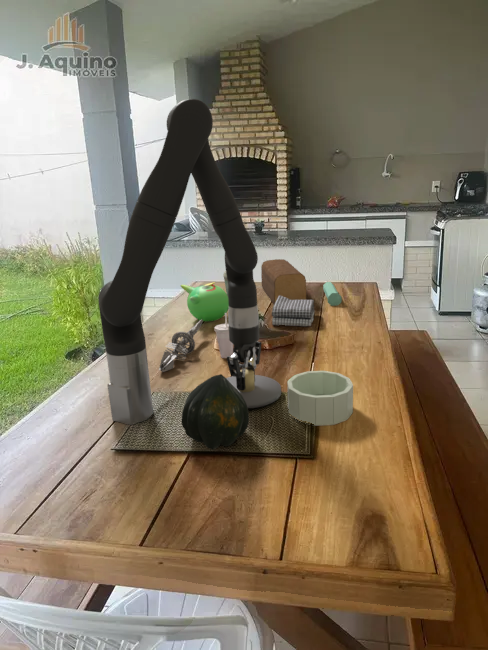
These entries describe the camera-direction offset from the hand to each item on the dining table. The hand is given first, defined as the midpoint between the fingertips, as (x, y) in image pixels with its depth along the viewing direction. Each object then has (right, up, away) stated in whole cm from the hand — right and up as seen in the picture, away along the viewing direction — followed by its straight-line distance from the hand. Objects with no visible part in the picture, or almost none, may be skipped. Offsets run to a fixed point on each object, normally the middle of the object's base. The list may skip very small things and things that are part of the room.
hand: (246, 385), depth 132 cm
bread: (+17, +28, +96) cm, 102 cm away
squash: (-7, -10, -19) cm, 22 cm away
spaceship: (-20, +6, +32) cm, 38 cm away
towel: (+18, +17, +62) cm, 67 cm away
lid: (0, -2, +1) cm, 2 cm away
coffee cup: (-5, +28, +97) cm, 101 cm away
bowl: (+18, -5, -9) cm, 20 cm away
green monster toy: (-15, +17, +67) cm, 70 cm away
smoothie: (-6, +6, +29) cm, 30 cm away
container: (+37, +27, +89) cm, 100 cm away
